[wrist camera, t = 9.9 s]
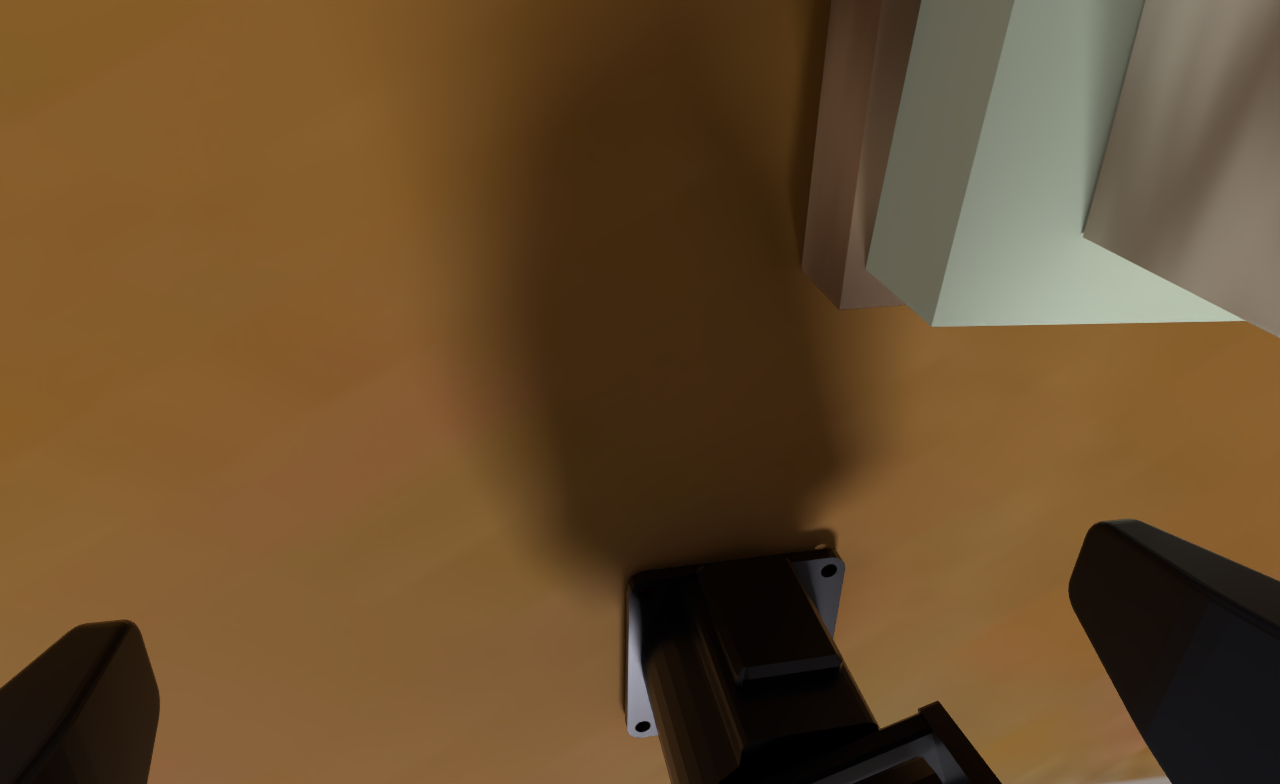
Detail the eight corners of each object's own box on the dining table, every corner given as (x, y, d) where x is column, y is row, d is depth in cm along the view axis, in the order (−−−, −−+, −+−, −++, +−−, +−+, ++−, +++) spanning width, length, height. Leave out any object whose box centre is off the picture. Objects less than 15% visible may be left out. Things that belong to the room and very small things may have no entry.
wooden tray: (1204, 236, 24) (1295, 276, 22) (792, 261, 22) (839, 309, 20) (1394, -314, 18) (1549, -347, 16) (857, -353, 16) (937, -398, 14)
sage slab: (1247, 267, 21) (1358, 318, 19) (865, 268, 19) (931, 326, 17) (1462, -236, 16) (1651, -259, 14) (984, -306, 14) (1104, -350, 12)
